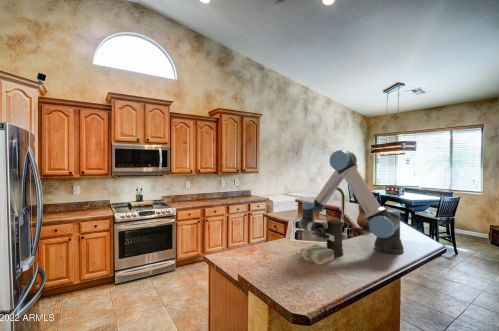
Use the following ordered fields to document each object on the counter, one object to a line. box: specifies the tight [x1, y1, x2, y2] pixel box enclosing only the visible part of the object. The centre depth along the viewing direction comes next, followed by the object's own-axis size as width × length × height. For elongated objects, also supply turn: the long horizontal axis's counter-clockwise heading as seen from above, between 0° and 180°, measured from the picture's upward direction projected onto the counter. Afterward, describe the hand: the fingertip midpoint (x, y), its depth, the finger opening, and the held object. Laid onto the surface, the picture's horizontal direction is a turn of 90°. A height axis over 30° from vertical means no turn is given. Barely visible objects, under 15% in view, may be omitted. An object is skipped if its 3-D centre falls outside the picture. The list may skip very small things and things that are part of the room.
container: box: [326, 219, 344, 257], centre depth 141 cm, size 9×9×18 cm
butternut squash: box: [356, 202, 370, 230], centre depth 198 cm, size 14×13×25 cm
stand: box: [300, 244, 335, 266], centre depth 133 cm, size 12×12×5 cm
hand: (340, 238), depth 136 cm, fingers closed on container, 8 cm apart
